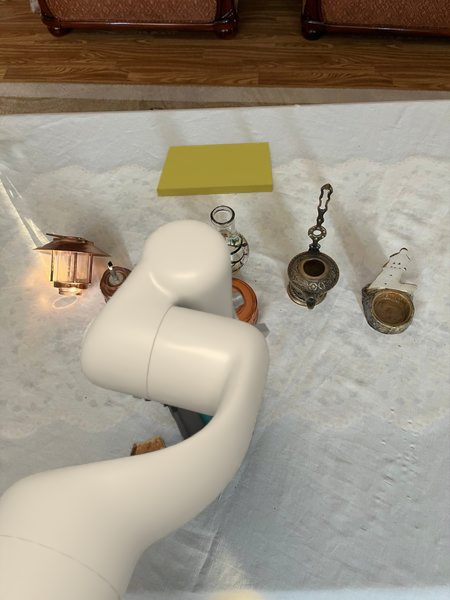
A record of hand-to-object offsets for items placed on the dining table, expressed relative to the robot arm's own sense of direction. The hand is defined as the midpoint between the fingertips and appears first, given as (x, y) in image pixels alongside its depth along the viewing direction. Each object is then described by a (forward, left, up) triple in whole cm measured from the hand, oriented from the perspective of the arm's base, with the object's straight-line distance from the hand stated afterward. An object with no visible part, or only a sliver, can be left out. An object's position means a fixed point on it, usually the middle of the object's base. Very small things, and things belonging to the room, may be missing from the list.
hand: (205, 385), depth 67 cm
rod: (0, +4, -21) cm, 21 cm away
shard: (-12, -2, -22) cm, 25 cm away
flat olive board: (+25, +50, -22) cm, 60 cm away
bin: (0, +4, -21) cm, 22 cm away
